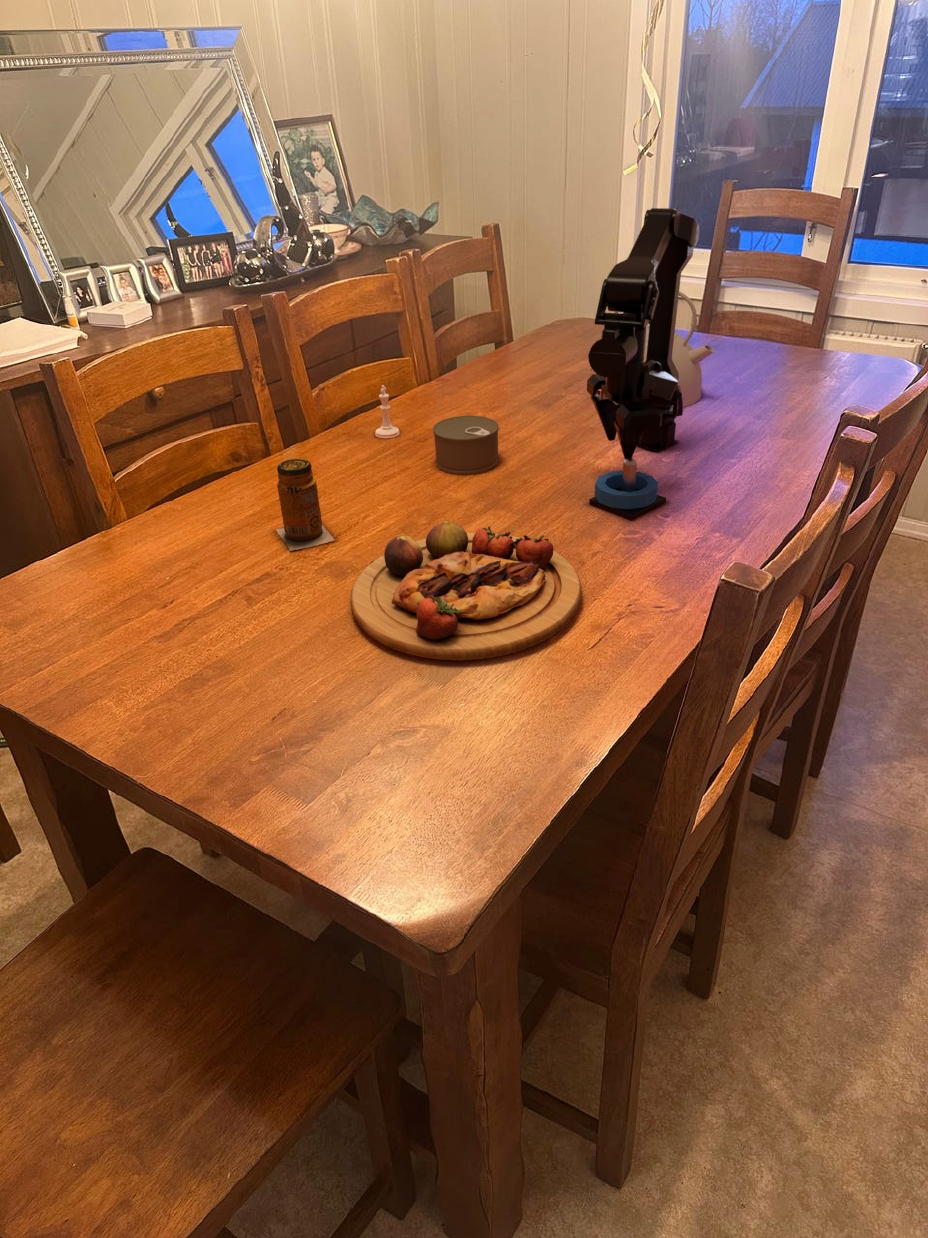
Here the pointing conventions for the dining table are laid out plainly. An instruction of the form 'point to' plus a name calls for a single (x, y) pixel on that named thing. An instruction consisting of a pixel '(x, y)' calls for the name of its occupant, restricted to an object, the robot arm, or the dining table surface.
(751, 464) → the dining table surface
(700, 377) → the kettle
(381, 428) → the chess piece
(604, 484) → the blue ring
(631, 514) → the peg stand
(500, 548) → the wooden plate
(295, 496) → the condiment
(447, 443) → the can
